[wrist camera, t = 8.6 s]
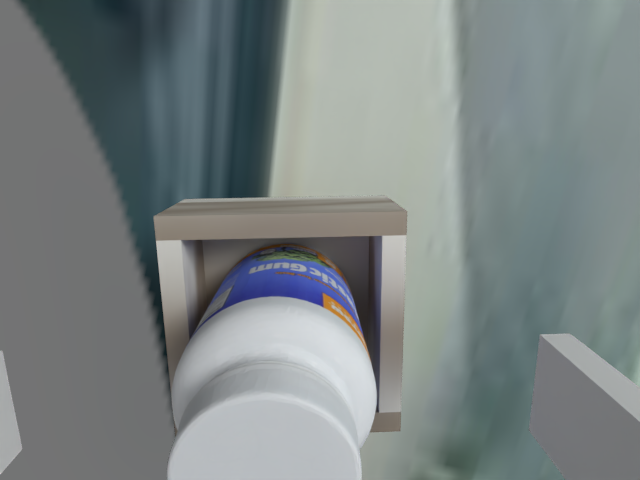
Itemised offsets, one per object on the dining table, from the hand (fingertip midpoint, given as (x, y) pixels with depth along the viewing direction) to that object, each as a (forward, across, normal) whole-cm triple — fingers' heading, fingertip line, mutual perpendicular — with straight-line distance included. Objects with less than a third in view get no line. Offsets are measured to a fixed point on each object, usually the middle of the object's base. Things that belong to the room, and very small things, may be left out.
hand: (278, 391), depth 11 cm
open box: (+13, 0, -1) cm, 13 cm away
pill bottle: (+8, 0, -1) cm, 8 cm away
